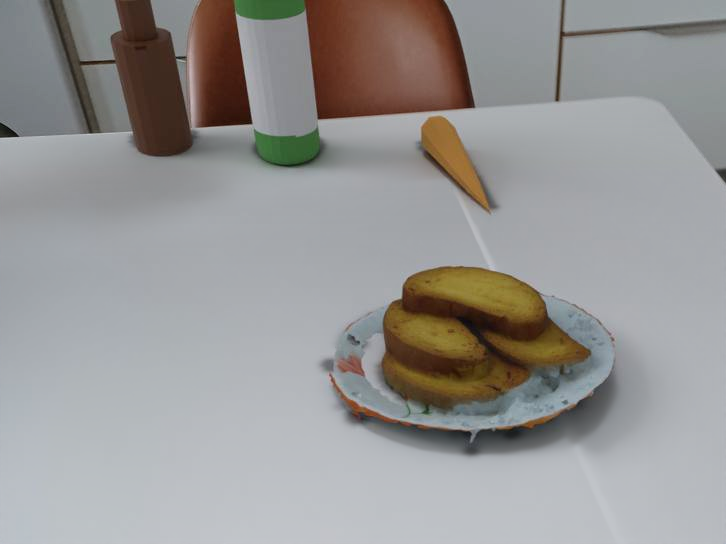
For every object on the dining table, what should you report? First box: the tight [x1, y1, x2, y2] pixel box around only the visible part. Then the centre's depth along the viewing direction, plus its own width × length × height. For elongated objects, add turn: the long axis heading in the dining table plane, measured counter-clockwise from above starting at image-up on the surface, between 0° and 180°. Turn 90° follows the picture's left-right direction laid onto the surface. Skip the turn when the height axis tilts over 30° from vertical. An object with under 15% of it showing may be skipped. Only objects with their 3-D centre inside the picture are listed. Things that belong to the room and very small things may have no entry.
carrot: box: [420, 115, 492, 213], centre depth 113 cm, size 20×4×4 cm, turn 21°
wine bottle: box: [233, 0, 321, 166], centre depth 107 cm, size 8×8×30 cm
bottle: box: [109, 0, 193, 157], centre depth 114 cm, size 7×7×16 cm
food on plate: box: [328, 265, 616, 444], centre depth 84 cm, size 25×25×7 cm
